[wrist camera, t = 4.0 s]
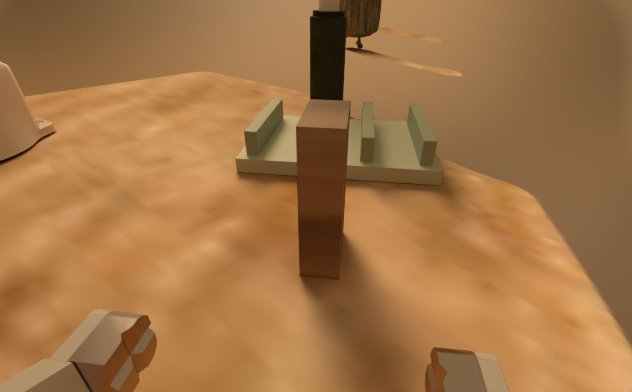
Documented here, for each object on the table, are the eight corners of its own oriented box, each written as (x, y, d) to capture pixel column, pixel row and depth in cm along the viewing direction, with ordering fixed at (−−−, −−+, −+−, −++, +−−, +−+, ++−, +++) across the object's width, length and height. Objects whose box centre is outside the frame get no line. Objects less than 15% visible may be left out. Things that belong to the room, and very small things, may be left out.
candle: (312, 100, 57) (313, -91, 44) (342, 101, 57) (352, -92, 44) (309, 108, 53) (308, -100, 40) (342, 110, 52) (351, -101, 40)
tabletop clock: (357, 44, 118) (363, -43, 105) (379, 47, 113) (387, -44, 100) (330, 48, 109) (332, -46, 96) (352, 51, 104) (358, -48, 91)
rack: (440, 185, 32) (449, 146, 30) (237, 172, 34) (232, 134, 32) (420, 133, 44) (425, 102, 42) (270, 125, 46) (268, 96, 44)
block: (338, 279, 22) (346, 129, 16) (299, 275, 22) (295, 126, 17) (343, 231, 26) (350, 100, 21) (310, 229, 26) (310, 99, 21)
